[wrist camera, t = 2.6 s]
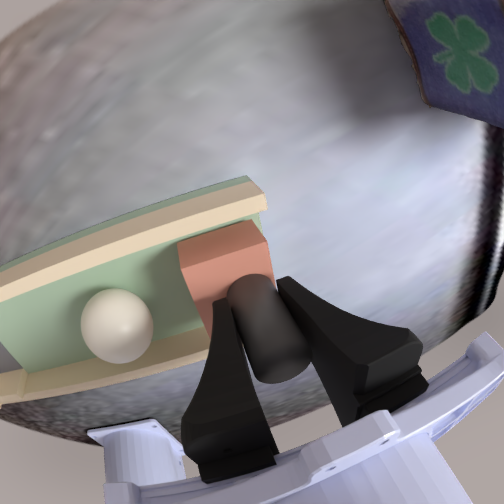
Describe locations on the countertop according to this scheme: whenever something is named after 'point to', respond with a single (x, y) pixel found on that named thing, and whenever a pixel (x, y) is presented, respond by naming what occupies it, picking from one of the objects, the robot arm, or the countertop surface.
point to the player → (245, 298)
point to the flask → (456, 53)
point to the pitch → (106, 277)
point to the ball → (117, 325)
